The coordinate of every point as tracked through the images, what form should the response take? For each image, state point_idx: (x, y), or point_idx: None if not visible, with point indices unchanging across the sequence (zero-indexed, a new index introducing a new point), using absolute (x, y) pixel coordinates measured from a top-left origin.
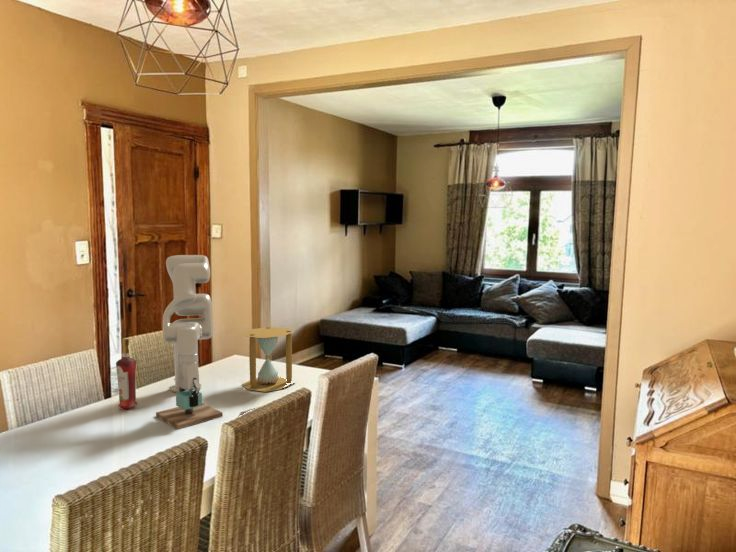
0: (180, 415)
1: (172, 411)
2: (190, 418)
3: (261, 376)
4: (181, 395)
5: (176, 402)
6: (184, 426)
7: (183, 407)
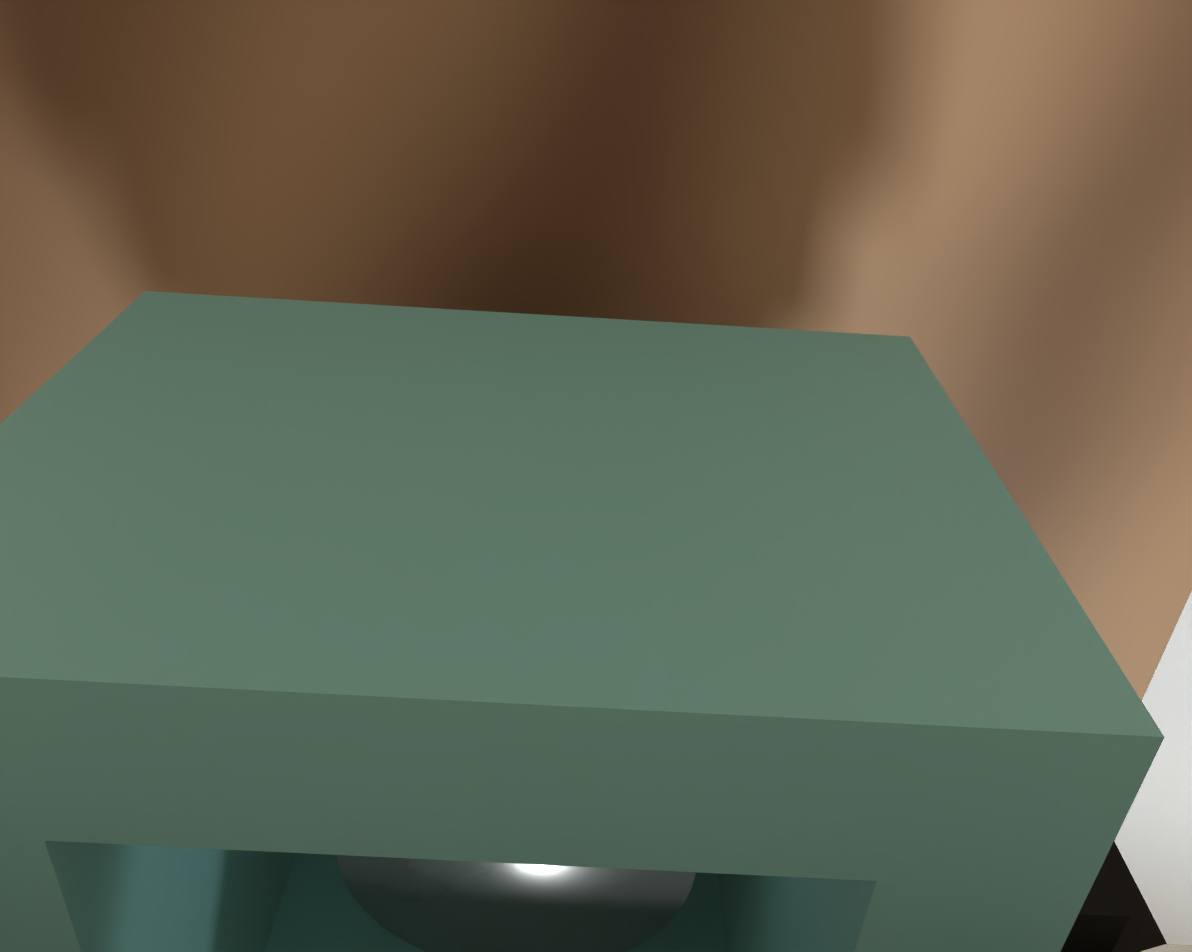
0: (517, 195)
1: (1055, 210)
2: (53, 266)
3: None
4: (228, 692)
5: (904, 395)
6: None
7: (225, 325)
